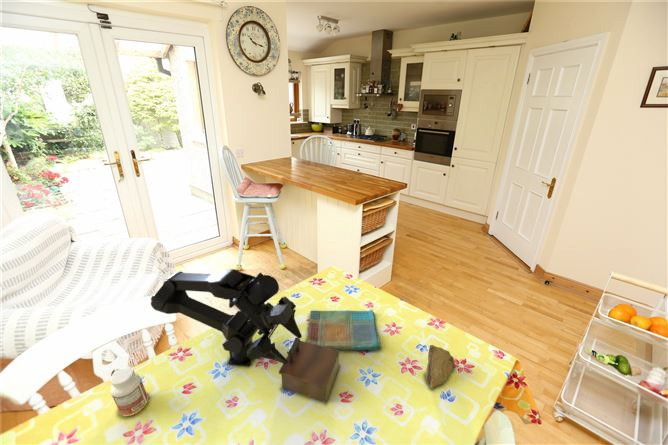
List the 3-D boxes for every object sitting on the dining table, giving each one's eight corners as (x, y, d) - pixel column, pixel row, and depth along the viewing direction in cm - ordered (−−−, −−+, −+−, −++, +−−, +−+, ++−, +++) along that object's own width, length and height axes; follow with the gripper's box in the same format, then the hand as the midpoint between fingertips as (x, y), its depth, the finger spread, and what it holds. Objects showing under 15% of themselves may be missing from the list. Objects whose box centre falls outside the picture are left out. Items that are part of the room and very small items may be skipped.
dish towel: (381, 352, 90) (382, 346, 89) (306, 351, 90) (306, 345, 89) (374, 313, 106) (374, 308, 105) (310, 313, 106) (310, 307, 105)
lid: (278, 373, 77) (277, 359, 75) (296, 341, 87) (295, 327, 85) (326, 388, 73) (326, 373, 71) (339, 352, 83) (339, 338, 81)
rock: (450, 349, 89) (419, 347, 88) (465, 346, 81) (432, 343, 80) (456, 390, 83) (423, 388, 82) (472, 391, 76) (436, 388, 75)
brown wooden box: (282, 388, 79) (281, 374, 77) (299, 355, 89) (299, 342, 87) (326, 402, 75) (326, 388, 73) (338, 366, 85) (339, 352, 83)
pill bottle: (128, 394, 76) (115, 364, 72) (152, 392, 77) (142, 362, 73) (114, 418, 71) (100, 387, 66) (140, 416, 71) (128, 385, 67)
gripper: (252, 321, 66) (298, 368, 68) (288, 276, 83) (324, 315, 84) (227, 338, 72) (271, 382, 73) (265, 293, 88) (300, 329, 90)
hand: (294, 349), depth 80 cm, fingers open, 9 cm apart
